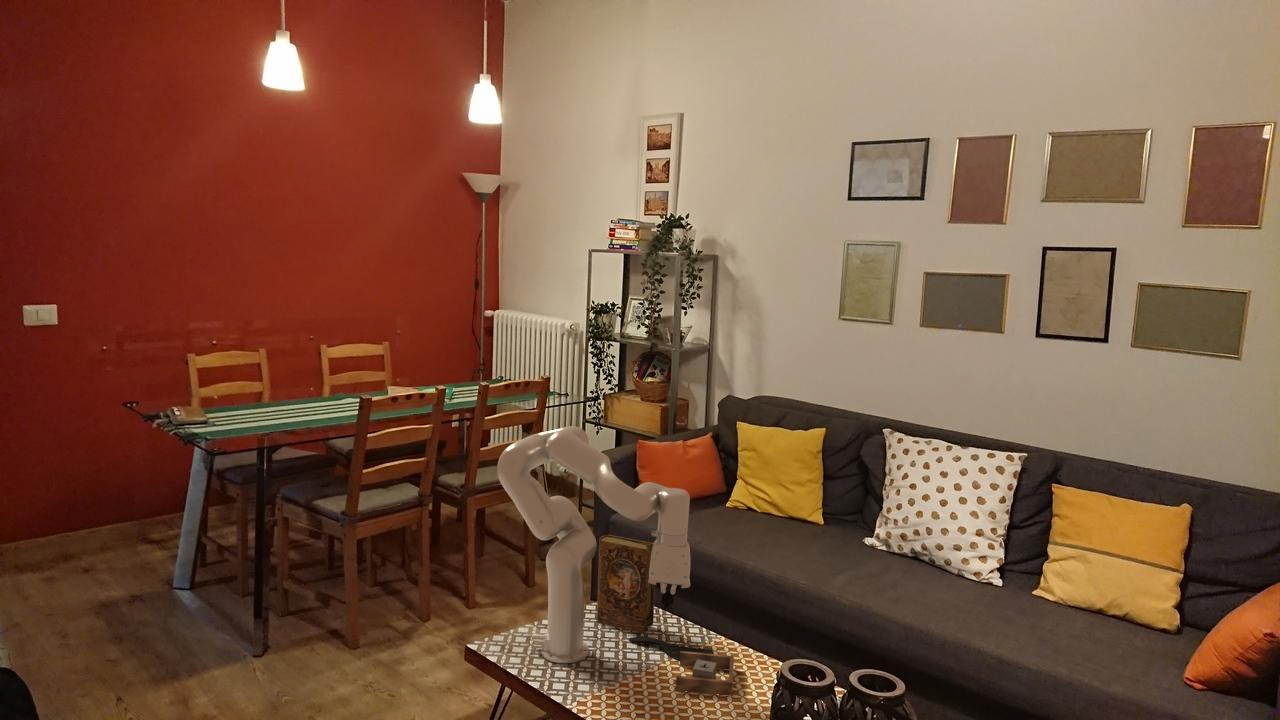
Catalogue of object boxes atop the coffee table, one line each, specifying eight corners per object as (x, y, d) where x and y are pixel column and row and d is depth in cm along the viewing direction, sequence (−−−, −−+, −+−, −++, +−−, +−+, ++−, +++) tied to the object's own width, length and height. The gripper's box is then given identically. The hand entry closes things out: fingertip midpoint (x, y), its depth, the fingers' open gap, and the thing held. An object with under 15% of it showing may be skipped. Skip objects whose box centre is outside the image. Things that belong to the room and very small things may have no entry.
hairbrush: (635, 625, 235) (718, 643, 224) (636, 638, 236) (718, 656, 224) (622, 637, 228) (706, 656, 216) (622, 650, 228) (706, 669, 217)
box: (675, 690, 206) (676, 677, 205) (679, 663, 219) (680, 651, 219) (732, 696, 204) (733, 683, 203) (733, 668, 218) (733, 655, 217)
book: (594, 622, 242) (596, 539, 239) (602, 615, 247) (605, 534, 244) (645, 634, 235) (648, 549, 232) (653, 626, 240) (656, 543, 237)
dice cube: (691, 687, 208) (692, 668, 207) (696, 677, 212) (697, 659, 212) (711, 691, 206) (712, 672, 206) (715, 681, 211) (716, 662, 210)
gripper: (640, 539, 207) (636, 609, 209) (700, 546, 205) (695, 616, 207) (644, 529, 214) (640, 597, 217) (702, 536, 212) (697, 604, 215)
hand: (667, 606), depth 212 cm, fingers closed
